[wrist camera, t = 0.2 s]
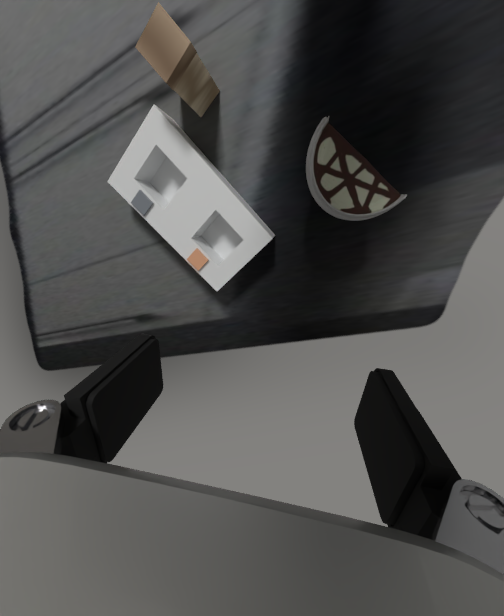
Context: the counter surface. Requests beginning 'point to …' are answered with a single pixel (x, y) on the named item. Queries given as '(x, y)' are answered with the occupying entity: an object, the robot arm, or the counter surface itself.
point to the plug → (177, 61)
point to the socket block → (188, 200)
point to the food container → (345, 178)
